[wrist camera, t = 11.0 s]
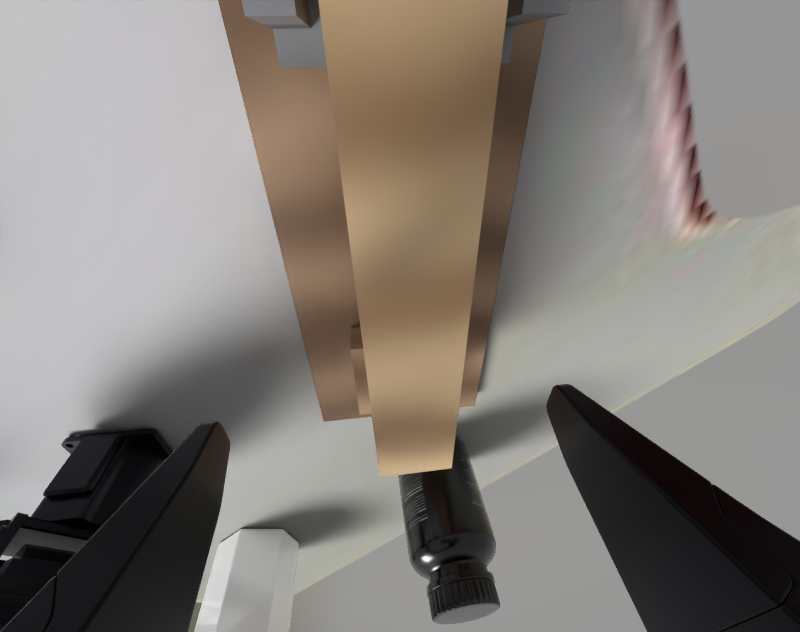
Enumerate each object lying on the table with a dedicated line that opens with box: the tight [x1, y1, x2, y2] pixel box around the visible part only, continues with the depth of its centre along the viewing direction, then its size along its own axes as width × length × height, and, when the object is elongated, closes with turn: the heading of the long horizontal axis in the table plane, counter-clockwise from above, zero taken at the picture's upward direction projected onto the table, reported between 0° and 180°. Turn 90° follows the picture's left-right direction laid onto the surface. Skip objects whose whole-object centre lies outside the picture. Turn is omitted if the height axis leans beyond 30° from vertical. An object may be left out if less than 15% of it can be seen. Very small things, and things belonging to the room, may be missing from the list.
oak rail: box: [318, 0, 508, 477], centre depth 14 cm, size 22×4×5 cm, turn 2°
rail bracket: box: [218, 0, 570, 421], centre depth 16 cm, size 30×12×6 cm, turn 1°
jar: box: [195, 529, 299, 632], centre depth 35 cm, size 9×8×12 cm
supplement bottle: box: [398, 438, 500, 624], centre depth 28 cm, size 7×7×12 cm
